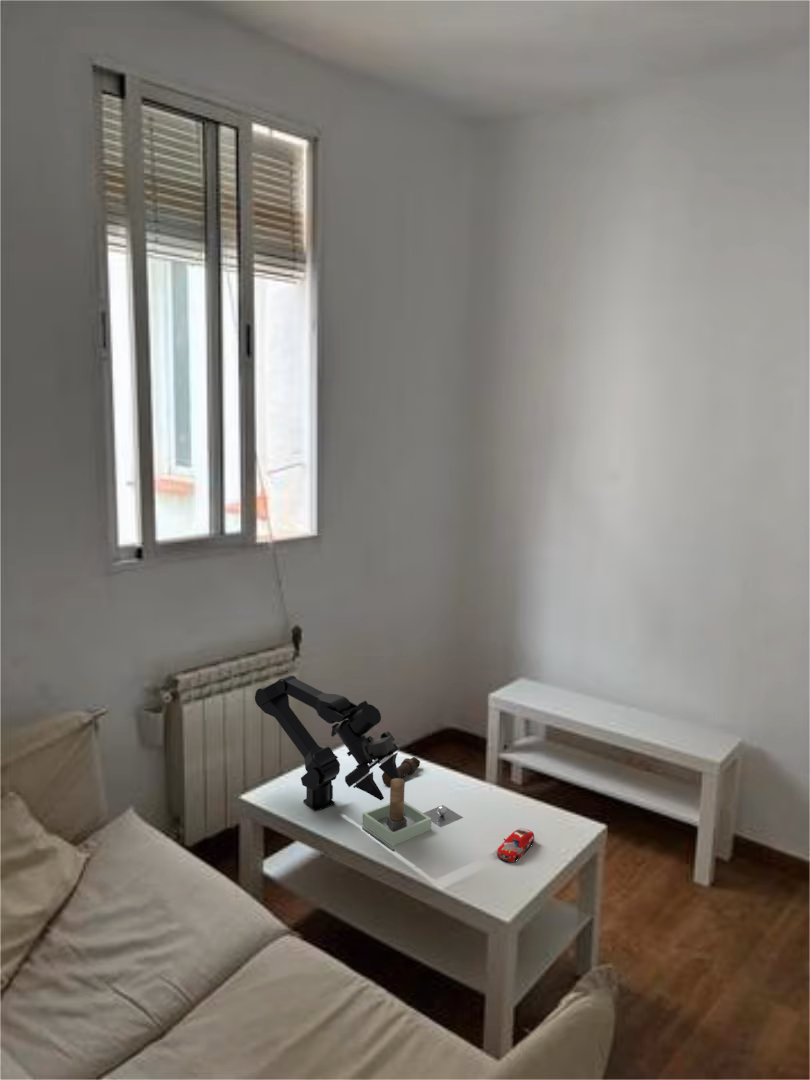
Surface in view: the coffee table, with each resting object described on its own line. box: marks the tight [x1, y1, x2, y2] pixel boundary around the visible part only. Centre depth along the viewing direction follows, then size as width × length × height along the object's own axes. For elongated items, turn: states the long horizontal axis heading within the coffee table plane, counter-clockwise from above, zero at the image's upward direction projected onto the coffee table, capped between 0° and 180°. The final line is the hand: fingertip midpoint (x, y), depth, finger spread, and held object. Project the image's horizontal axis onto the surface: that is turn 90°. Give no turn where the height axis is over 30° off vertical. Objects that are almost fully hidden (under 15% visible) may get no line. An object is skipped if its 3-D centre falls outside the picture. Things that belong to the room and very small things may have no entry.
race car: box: [496, 827, 535, 863], centre depth 198 cm, size 13×5×4 cm, turn 143°
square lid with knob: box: [422, 804, 464, 828], centre depth 211 cm, size 8×8×4 cm
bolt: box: [381, 756, 421, 788], centre depth 234 cm, size 6×5×15 cm
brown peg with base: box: [385, 778, 408, 832], centre depth 204 cm, size 4×4×13 cm
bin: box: [361, 800, 432, 852], centre depth 205 cm, size 13×13×4 cm
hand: (391, 791), depth 204 cm, fingers open, 9 cm apart
